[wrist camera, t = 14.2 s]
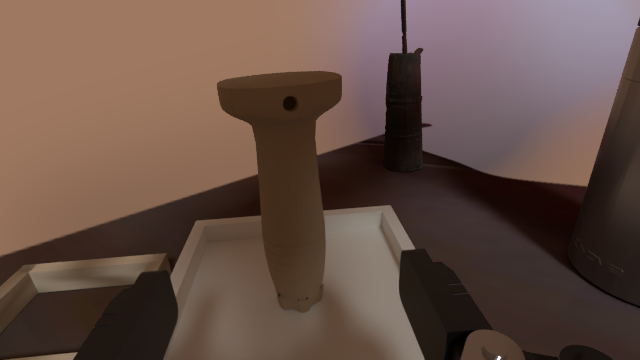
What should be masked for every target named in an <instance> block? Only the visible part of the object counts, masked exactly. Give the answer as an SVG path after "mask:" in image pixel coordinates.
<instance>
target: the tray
mask: <svg viewBox="0 0 640 360" xmlns="http://www.w3.org/2000/svg"><path fill="white" fill-rule="evenodd" d="M323 214H324V222H325V238H326V252H325V254H326V255H325V268H324V275H323V280H322V284H324V288H323V296H322V299H321V300H320V301H319V302H317V303H315V304H314V305H312V306H311V307H310V310H309V311H307V312H303V313H300V312H299V311H297V310H291V309H287V310H285V309H283V308H282V307H281V306H280V304H279V302H278V298H277V292H276V289H275V286H274V283H273V281H272V278H271V275H270V272H269V268H268V264H267V259H266V255H265V250H264V243H263V235H262V223H261V216H249V217H237V218H224V219H212V220H199V221H196V222H195V224H194V226H193V229H192V231H191V233H190V235H189V237H188V239H187V241H186V244H185V246H184V248H183V250H182V252H181V254H180V257H179V259H178V261H177V263H176V265H175V267H174V269H173V272H172V274H171V276H170V279H171V282H172V286H173V290H174V293H175V297H176V300H177V304H178V320H177V324H176V326H175V329H174V332H173V334H172V337H171V340H170V342H169V345H168V348H167V350H166V353H165V356H164V358H163V360H425V359H424V356H423V354H422V352H421V349H420V347H419V344H418V342H417V339H416V337H415V335H414V332H413V330H412V327H411V325H410V322H409V320H408V317H407V315H406V313H405V310H404V308H403V305H402V303H401V299H400V294H399V273H400V258H401V252H402V251H403V250H412V249H415V248H414V246H413V244H412V242H411V241H410V239H409V237H408V235H407V234H406V232H405V230H404V228H403V227H402V225H401V223H400V221H399V220H398V218H397V216H396V214H395V213H394V211H393V209H392V207H391V206H390V205H387V206H375V207H362V208H350V209H337V210H325V211H323Z"/></svg>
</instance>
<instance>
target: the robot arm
mask: <svg viewBox="0 0 640 360" xmlns="http://www.w3.org/2000/svg"><path fill="white" fill-rule="evenodd" d="M638 26H640V19H639V22H638ZM567 254H568V257H569V260H570V262H571V263H572V265H573V266H574V268H575V269H576V270H577V271H578V272H579V273H580V274H581V275H582V276H584V277H585V278H586V279H588V280H589V281H590V282H592V283H593V284H594V285H596V286H598V287H599V288H601V289H603V290H605V291H606V292H608V293H610V294H612V295H614V296H616V297H618V298H621V299H623V300H625V301H627V302H630V303H633V304H635V305H638V306H640V27H638V28H637V29H636V32H635V35H634V38H633V42H632V45H631V48H630V51H629V54H628V57H627V61H626V64H625V67H624V70H623V73H622V78H621V81H620V84H619V87H618V90H617V93H616V97H615V100H614V103H613V106H612V109H611V113H610V116H609V119H608V123H607V125H606V129H605V132H604V135H603V138H602V141H601V145H600V148H599V151H598V154H597V157H596V161H595V164H594V167H593V171H592V174H591V177H590V180H589V183H588V186H587V189H586V193H585V196H584V199H583V202H582V205H581V208H580V211H579V215H578V218H577V221H576V224H575V228H574V231H573V234H572V237H571V240H570V244H569V247H568V252H567ZM399 294H400V299H401V303H402V305H403V308H404V310H405V313H406V315H407V317H408V320H409V322H410V325H411V327H412V330H413V332H414V335H415V337H416V339H417V342H418V344H419V347H420V349H421V352H422V354H423V356H424V359H425V360H613V359H612V358H610V357H609V356H607V355H605V354H604V353H602V352H600V351H598V350H596V349H593V348H590V347H587V346H582V345H569V346H567V347H565V348H563V349H562V350H561V352H560V355H559V358H557V357H552V356H546V355H541V354H535V353H530V352H526V351H523V350H521V349H520V347H519V346H518V345H517V344H516V343H515V342H514V341H513V340H511V339H510V338H509V337H507V336H505V335H503V334H501V333H499V332H496V331H494V330H493V329H492V327H491V326H490V324H489V323H488V321H487V320H486V319H485V317H484V316H483V314H482V313H481V311H480V310H479V308H478V307H477V305H476V304H475V302H474V301H473V299H472V298H471V296H470V295H469V294H468V292H467V290H466V289H465V287H464V286H463V285H462V284H461V281H460V280H459V278H458V277H457V276H456V274H455V273H454V271H453V270H451V269H450V268H449V267H447V266H446V265H445V264H443V263H442V262H434V263H433V262H432V260H431V258H430V257H429V255H428V253H427V252H426V250H425V249H412V250H403V251H402V252H401V258H400V273H399ZM177 320H178V304H177V300H176V297H175V293H174V290H173V286H172V282H171V279H170V275H169V273H168V271H167V270H159V271H147V272H142V273H140V275H139V276H138V278H137V280H136V281H135V283H134V285H133V286H132V288H131V289H124V290H123V291H122V292H121V293H120V294H118V295H117V296H116V297H115V298H114V299H113V300H111V301H110V303H109V305H108V306H107V308H106V309H105V311H104V312H103V314H102V317H100V318H99V320H98V322H97V323H96V325H95V328H94V329H92V331H91V332H90V334H89V336H88V337H87V339H86V340H85V342H84V343H83V345H82V346H81V348H80V349H79V351H78V353H77V354H76V356H75V357H74V359H73V360H163V358H164V356H165V353H166V350H167V348H168V345H169V342H170V340H171V337H172V334H173V332H174V329H175V326H176V324H177Z"/></svg>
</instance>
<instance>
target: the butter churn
mask: <svg viewBox="0 0 640 360" xmlns="http://www.w3.org/2000/svg"><path fill="white" fill-rule="evenodd" d="M405 3H406V1H405V0H401V20H402V33H403V36H402V44H403V48H402V51H403V53H390V55H389V63H388V72H387V87H386V107H387V111H386V126H385V130H386V131H385V144H384V166H385V167H386V168H388V169H391V170H392V171H414V169H420V168H421V167H422V166H423V156H422V121H421V120H422V118H421V115H422V114H421V101H422V96H421V69H420V64H421V62H420V61H421V59H420V58H421V56H420V53H422V51H423V49H422V48H418V49H417V50H416V51H415V52H414V53H407V42H406V4H405Z"/></svg>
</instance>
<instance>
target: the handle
mask: <svg viewBox="0 0 640 360" xmlns="http://www.w3.org/2000/svg"><path fill="white" fill-rule="evenodd" d="M217 90H218V95H219V101H220V105H221V107H222V109H223V110H224V111H225V112H226V113H228V114H229V115H231V116H233V117H235V118H238V119H240V120H243V121H245V122H248V123H249V124H250V125H251V126H252V128H253V132H254V137H255V141H256V151H257V163H258V175H259V190H260V207H261V223H262V235H263V243H264V250H265V255H266V259H267V264H268V268H269V272H270V275H271V278H272V281H273V283H274V286H275V289H276V292H277V298H278V302H279V304H280V306H281V307H282V308H283V309H285V310H287V309H291V310H297V311H299V312H300V313H303V312H307V311H309V310H310V307H311V306H312V305H314V304H315V303H317V302H319V301H320V300H321V299H322V296H323V288H324V284H322V280H323V275H324V268H325V255H326V254H325V252H326V238H325V222H324V214H323V206H322V198H321V190H320V182H319V173H318V163H317V153H316V143H315V127H316V120H317V118H318V117H319V116H320V115H322V114H323V113H325V112H326V111H328V110H329V109H331V108H332V107H334V106H335V105H336V104H337V103H338V102H339V101H340V100H341V95H342V77H341V75H339V74H337V73H333V72H324V71H309V72H285V73H272V74H261V75H252V76H245V77H238V78H232V79H226V80H223V81H220V82H218V83H217Z"/></svg>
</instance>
